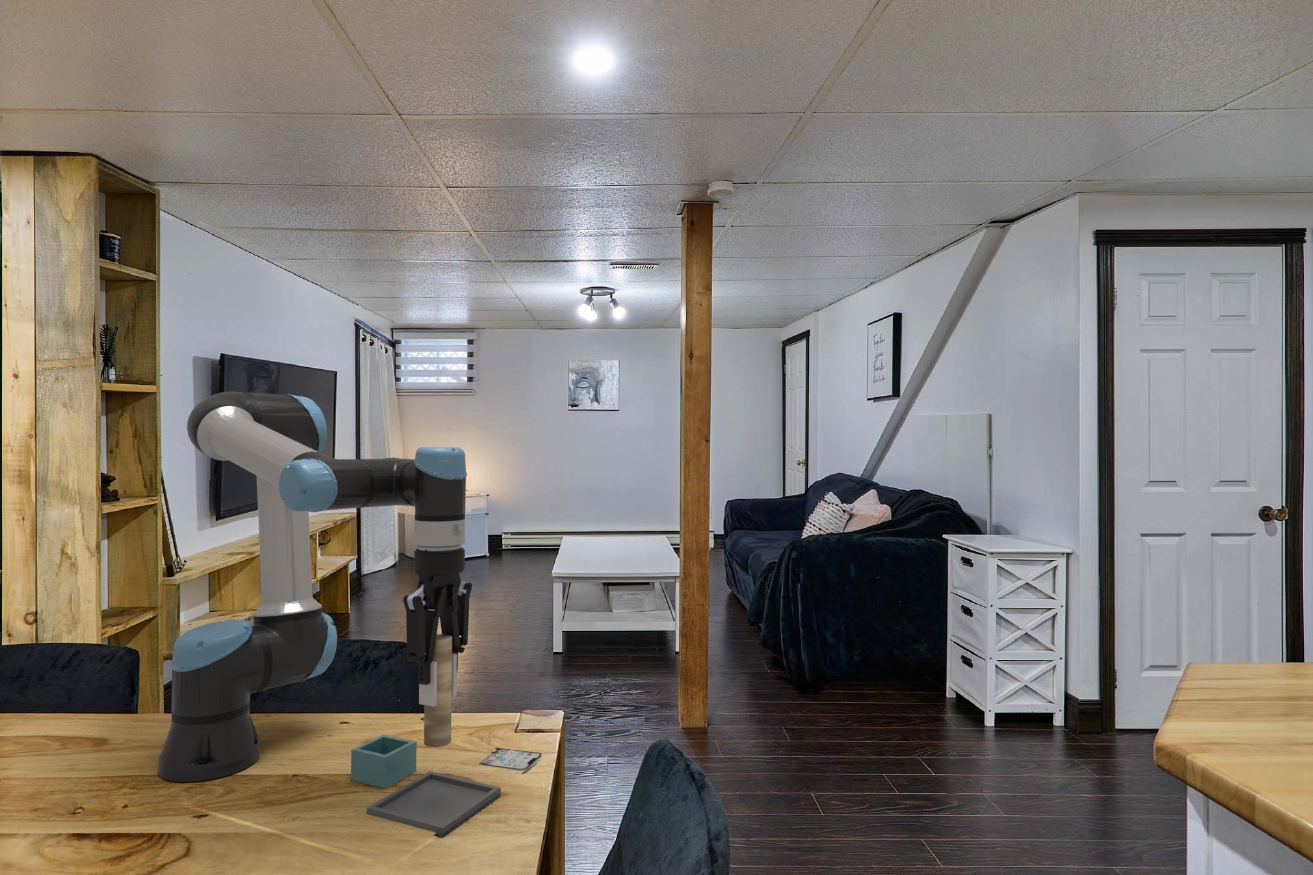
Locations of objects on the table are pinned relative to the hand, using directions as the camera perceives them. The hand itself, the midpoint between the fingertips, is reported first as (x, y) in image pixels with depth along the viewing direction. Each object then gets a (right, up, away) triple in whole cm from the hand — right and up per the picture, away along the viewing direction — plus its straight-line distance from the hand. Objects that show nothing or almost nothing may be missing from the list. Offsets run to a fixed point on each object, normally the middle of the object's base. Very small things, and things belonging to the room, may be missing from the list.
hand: (437, 699), depth 117 cm
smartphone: (+5, -17, +17) cm, 25 cm away
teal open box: (-12, -16, +9) cm, 22 cm away
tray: (0, -16, 0) cm, 16 cm away
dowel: (0, -7, 0) cm, 7 cm away
